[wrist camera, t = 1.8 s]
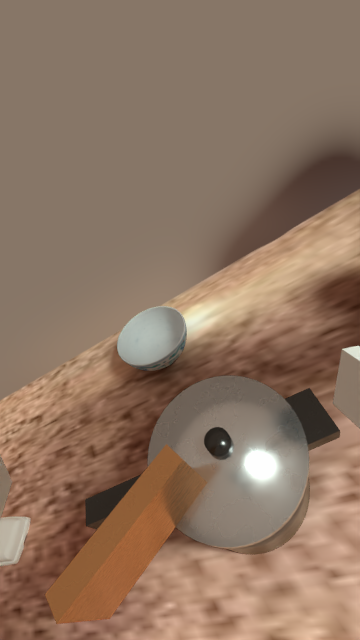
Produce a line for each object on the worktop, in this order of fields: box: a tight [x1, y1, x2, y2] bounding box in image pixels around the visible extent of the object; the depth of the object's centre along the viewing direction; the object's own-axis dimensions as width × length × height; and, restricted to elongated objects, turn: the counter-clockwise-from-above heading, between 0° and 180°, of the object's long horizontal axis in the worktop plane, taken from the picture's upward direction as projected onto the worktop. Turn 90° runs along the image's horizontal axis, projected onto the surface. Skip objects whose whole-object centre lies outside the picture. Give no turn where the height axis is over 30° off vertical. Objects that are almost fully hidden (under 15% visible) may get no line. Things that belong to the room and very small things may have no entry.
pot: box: [85, 388, 340, 554], centre depth 40 cm, size 32×18×12 cm, turn 106°
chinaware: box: [117, 306, 187, 371], centre depth 63 cm, size 15×15×8 cm
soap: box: [0, 516, 31, 566], centre depth 50 cm, size 9×7×3 cm
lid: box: [45, 375, 309, 624], centre depth 31 cm, size 28×19×9 cm, turn 136°
